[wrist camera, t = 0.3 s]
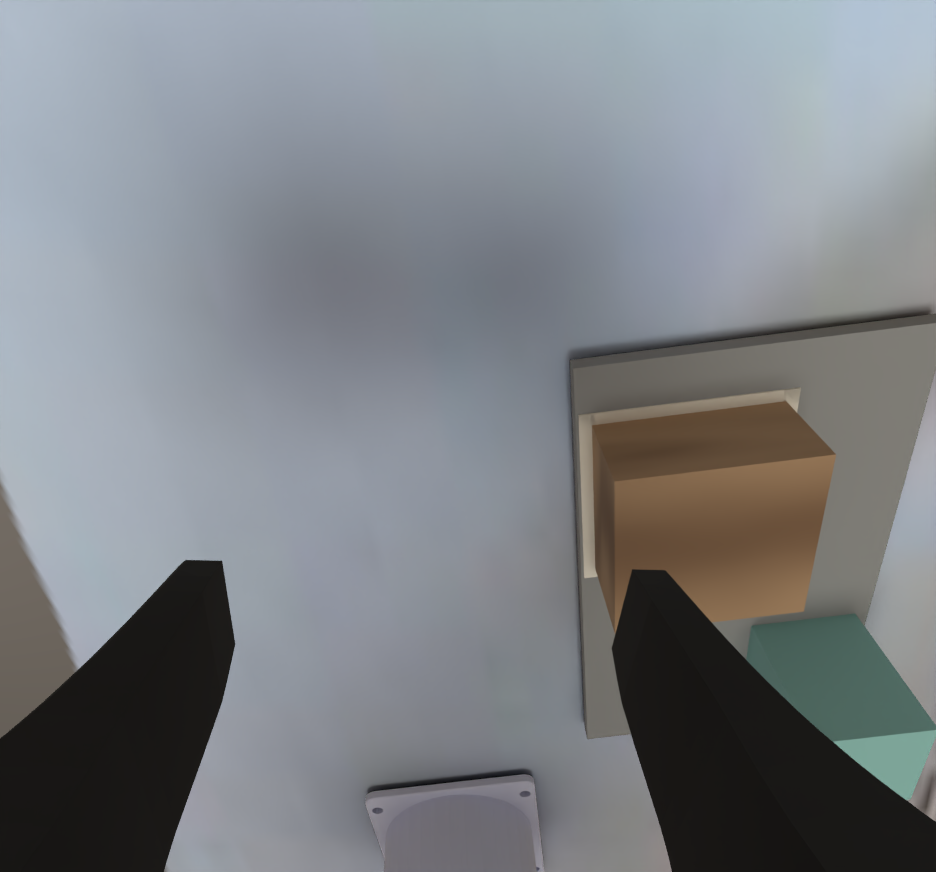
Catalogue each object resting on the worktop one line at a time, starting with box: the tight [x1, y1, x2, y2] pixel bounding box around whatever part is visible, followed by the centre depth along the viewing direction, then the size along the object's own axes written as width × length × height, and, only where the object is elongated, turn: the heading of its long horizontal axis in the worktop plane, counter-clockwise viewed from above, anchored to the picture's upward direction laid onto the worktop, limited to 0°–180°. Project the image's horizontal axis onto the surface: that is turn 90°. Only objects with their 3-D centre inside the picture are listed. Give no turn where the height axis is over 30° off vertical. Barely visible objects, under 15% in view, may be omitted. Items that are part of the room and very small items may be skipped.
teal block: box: [746, 614, 936, 800], centre depth 25 cm, size 4×4×5 cm
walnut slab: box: [592, 401, 836, 633], centre depth 21 cm, size 6×6×3 cm
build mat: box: [570, 314, 936, 739], centre depth 25 cm, size 18×11×1 cm, turn 7°
